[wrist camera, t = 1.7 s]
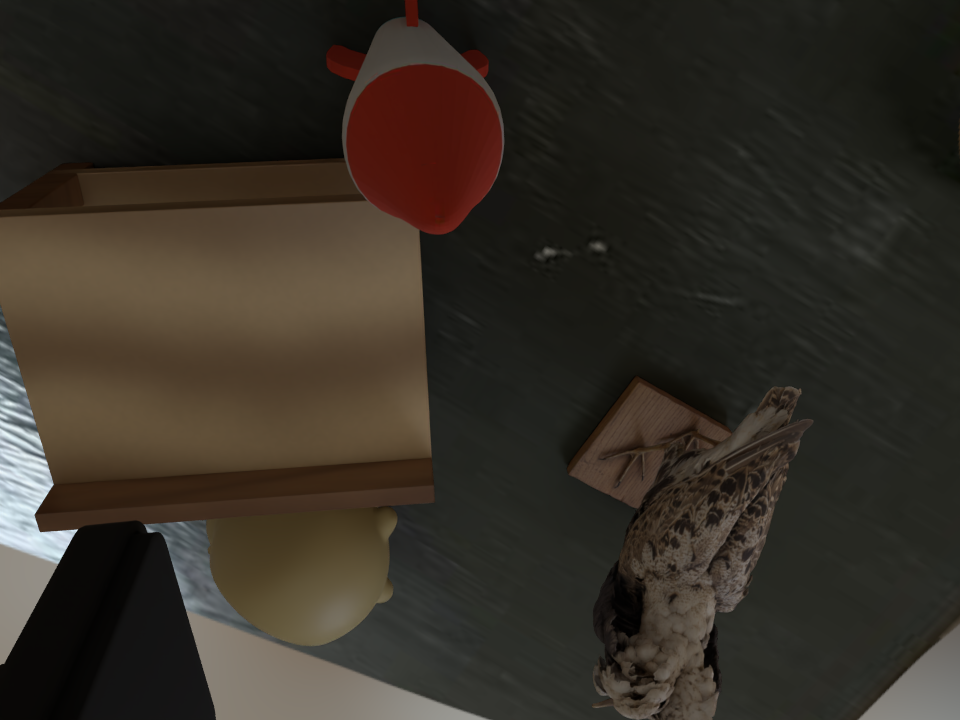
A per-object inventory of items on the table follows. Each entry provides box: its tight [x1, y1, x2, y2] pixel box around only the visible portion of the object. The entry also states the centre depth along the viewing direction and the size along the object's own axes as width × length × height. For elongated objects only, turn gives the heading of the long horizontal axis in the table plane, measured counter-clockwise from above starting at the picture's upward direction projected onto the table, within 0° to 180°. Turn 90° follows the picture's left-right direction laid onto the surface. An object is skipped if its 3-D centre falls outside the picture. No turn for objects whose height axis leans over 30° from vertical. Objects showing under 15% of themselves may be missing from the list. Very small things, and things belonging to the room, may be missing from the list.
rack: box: [0, 158, 435, 532], centre depth 41 cm, size 14×18×12 cm
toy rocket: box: [326, 0, 504, 234], centre depth 28 cm, size 6×6×30 cm
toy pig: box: [206, 506, 397, 646], centre depth 49 cm, size 10×12×11 cm
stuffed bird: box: [567, 376, 813, 720], centre depth 46 cm, size 10×20×17 cm, turn 167°
